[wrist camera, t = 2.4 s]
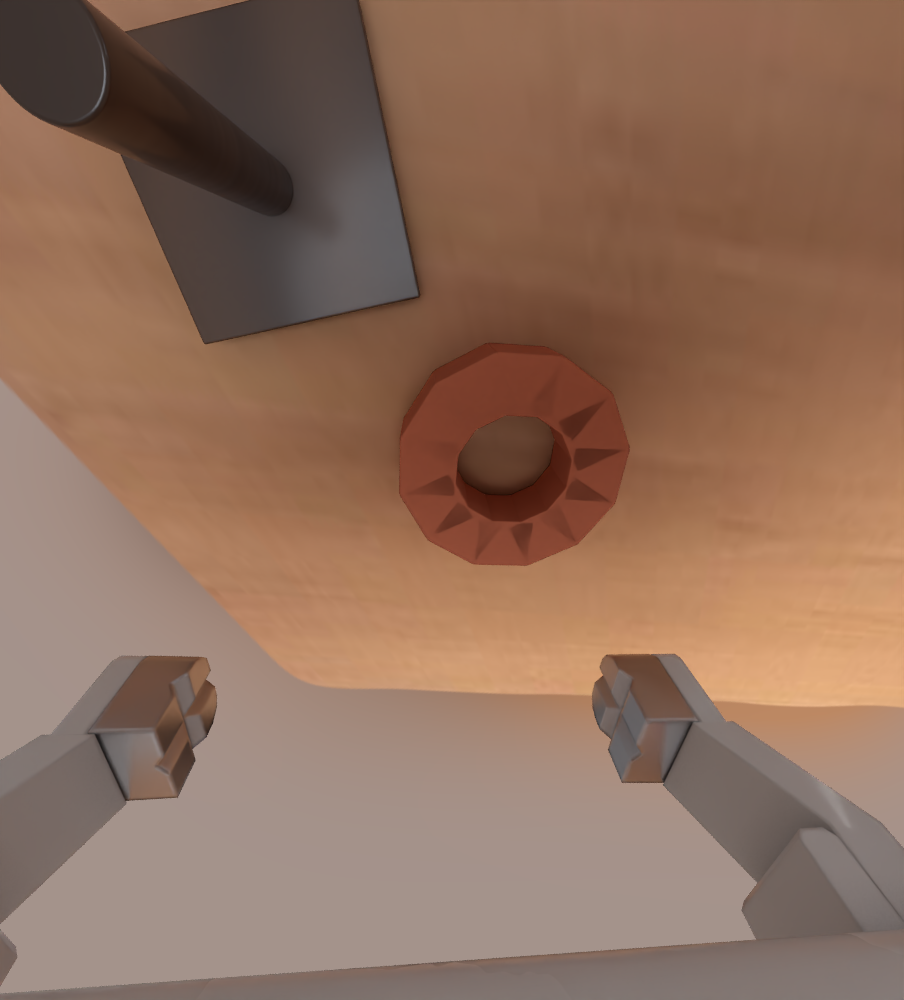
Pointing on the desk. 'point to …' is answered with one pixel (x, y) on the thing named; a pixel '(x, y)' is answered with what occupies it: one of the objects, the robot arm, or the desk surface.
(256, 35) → the peg on square base
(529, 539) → the ring
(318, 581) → the desk surface
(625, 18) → the desk surface
